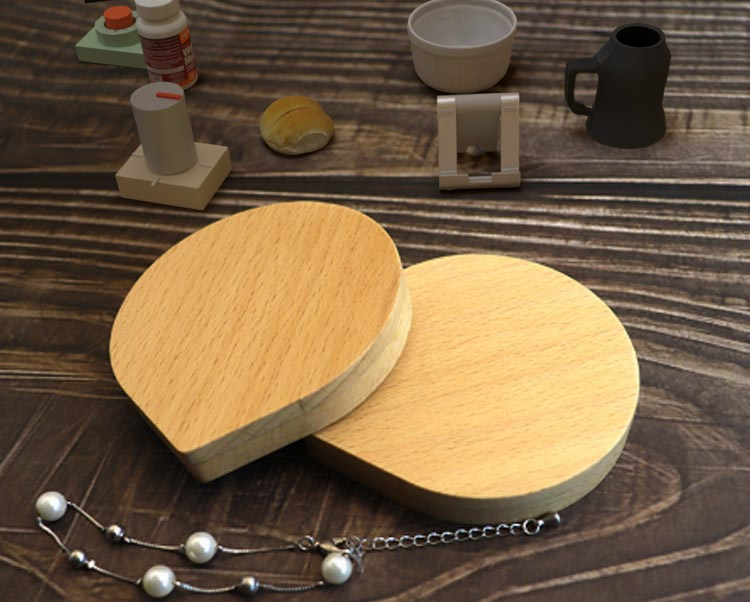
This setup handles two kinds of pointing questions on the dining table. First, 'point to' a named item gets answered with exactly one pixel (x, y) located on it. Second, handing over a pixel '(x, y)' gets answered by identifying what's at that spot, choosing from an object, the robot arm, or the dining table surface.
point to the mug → (625, 87)
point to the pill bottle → (166, 42)
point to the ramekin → (461, 43)
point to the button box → (112, 45)
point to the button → (118, 17)
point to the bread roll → (296, 125)
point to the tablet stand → (478, 137)
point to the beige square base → (176, 179)
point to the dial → (164, 127)
